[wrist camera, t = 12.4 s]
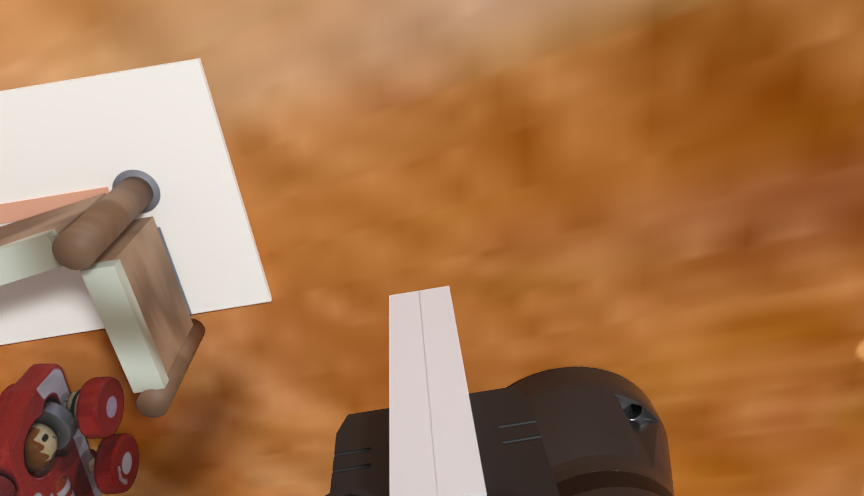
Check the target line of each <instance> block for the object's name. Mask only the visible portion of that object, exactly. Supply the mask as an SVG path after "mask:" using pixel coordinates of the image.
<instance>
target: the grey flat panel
mask: <svg viewBox="0 0 864 496" xmlns="http://www.w3.org/2000/svg"><path fill="white" fill-rule="evenodd" d="M105 195H106V193H103V194H100V195H97V196H94V197H91V198H87V199H84V200H81V201H78V202H75V203H72V204H69V205H66V206H63V207H60V208H57V209H53V210H50V211H47V212H44V213H41V214H38V215H35V216H32V217H29V218H26V219H23V220H20V221H16V222H13V223H10V224H7V225H4V226H1V227H0V286H1V285H4V284H7V283H11V282H14V281H17V280H20V279H23V278H26V277H30V276H33V275H36V274H39V273H42V272H45V271H49V270H52V269H55V268H58V267H61V266H62V265H61V264H60V263H59V262H58V261H57V260H56V259H55V257H54V256H53V253H52V243H53V241H54V240H55V239H56V238H57V237H58V236H59V235H60V234H61V233H62V232H63V231H65V230H66V229H67V228H68V227H69V226H70V225H72V224H73V223H74V222H75V221H76V220H77V219H79V218H80V217H81V216H82V215H83V214H84V213H86V212H87V211H88V210H89V209H90V208H91V207H92V206H94V205H95V204H96V203H97V202H98V201H99V200H101V199H102V198H103V197H104V196H105Z"/></svg>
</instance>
